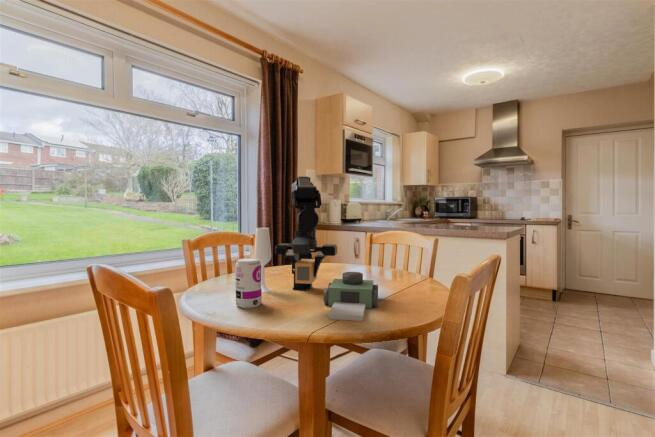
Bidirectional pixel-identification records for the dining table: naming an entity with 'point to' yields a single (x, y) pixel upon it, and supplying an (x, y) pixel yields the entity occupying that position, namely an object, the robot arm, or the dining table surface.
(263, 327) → the dining table surface
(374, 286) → the green wheeled block
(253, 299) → the supplement can
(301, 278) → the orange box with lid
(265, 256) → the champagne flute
